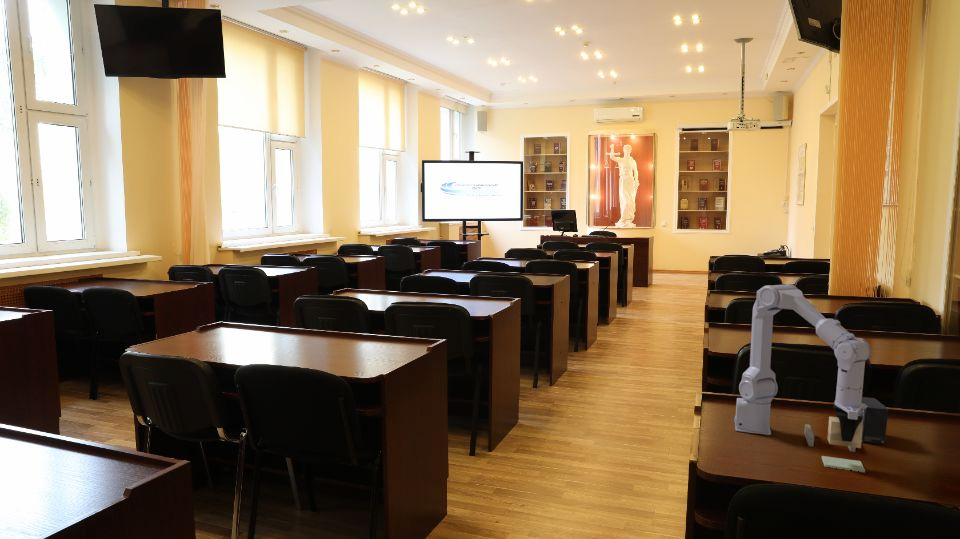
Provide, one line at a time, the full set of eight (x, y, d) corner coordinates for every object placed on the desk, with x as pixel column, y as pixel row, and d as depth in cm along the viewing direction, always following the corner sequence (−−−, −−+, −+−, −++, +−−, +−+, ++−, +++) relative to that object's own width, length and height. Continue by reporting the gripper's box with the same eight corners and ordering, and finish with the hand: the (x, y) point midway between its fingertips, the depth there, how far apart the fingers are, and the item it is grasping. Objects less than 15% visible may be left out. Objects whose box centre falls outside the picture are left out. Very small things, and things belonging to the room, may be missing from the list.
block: (829, 444, 169) (831, 421, 168) (827, 438, 172) (829, 416, 172) (860, 448, 166) (862, 425, 165) (857, 442, 170) (859, 420, 169)
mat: (824, 466, 169) (825, 464, 169) (821, 458, 174) (821, 455, 174) (864, 472, 166) (865, 470, 166) (860, 463, 171) (860, 461, 171)
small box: (886, 445, 184) (890, 408, 183) (861, 443, 185) (864, 406, 184) (872, 431, 194) (875, 397, 193) (848, 429, 196) (851, 395, 194)
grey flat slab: (808, 445, 182) (809, 436, 182) (804, 433, 192) (805, 424, 191) (855, 452, 179) (856, 442, 178) (848, 439, 188) (849, 429, 188)
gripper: (873, 396, 159) (868, 450, 161) (861, 380, 173) (857, 430, 174) (840, 392, 162) (836, 446, 163) (831, 377, 175) (827, 426, 177)
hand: (845, 437), depth 169 cm, fingers closed on block, 4 cm apart
